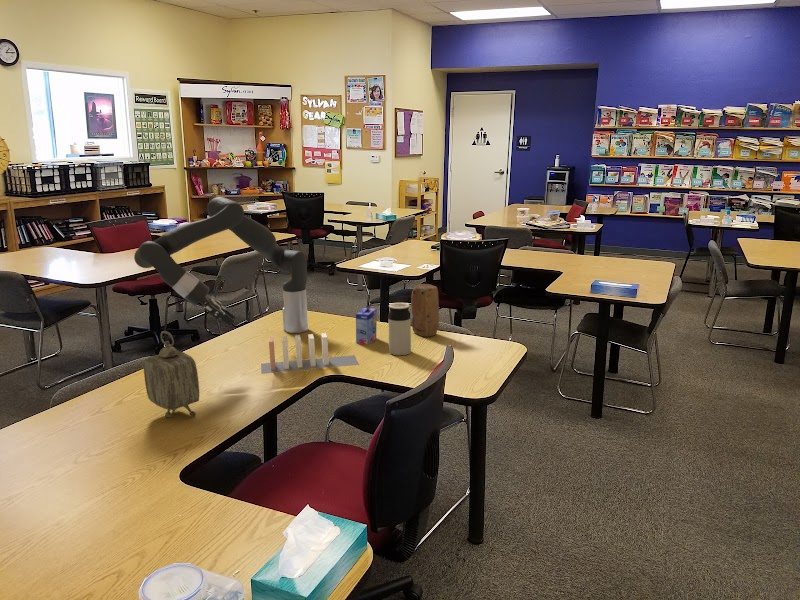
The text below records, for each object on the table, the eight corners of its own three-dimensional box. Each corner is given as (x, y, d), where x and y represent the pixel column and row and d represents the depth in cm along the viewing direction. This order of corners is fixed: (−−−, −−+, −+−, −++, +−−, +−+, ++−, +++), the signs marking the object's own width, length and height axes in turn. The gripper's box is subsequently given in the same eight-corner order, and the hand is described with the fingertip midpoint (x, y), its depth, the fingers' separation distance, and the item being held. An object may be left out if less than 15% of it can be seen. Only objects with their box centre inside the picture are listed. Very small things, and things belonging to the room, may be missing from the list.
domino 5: (324, 365, 215) (322, 337, 213) (322, 360, 220) (321, 333, 217) (328, 364, 215) (327, 337, 213) (327, 359, 220) (325, 332, 218)
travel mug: (407, 357, 223) (406, 308, 219) (386, 355, 226) (384, 307, 221) (413, 350, 230) (413, 303, 226) (393, 348, 233) (392, 301, 228)
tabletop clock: (202, 416, 177) (193, 332, 171) (172, 427, 171) (162, 340, 165) (176, 403, 187) (167, 323, 181) (147, 413, 180) (136, 330, 174)
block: (440, 335, 247) (440, 286, 242) (426, 339, 243) (425, 289, 238) (423, 329, 256) (422, 281, 251) (408, 332, 251) (408, 284, 246)
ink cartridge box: (369, 345, 236) (368, 308, 233) (355, 344, 238) (354, 308, 234) (377, 338, 245) (376, 302, 242) (364, 337, 247) (363, 301, 243)
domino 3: (297, 367, 213) (296, 339, 211) (296, 362, 218) (295, 335, 215) (302, 367, 213) (300, 339, 211) (301, 362, 218) (299, 335, 216)
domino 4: (310, 366, 214) (309, 338, 212) (309, 361, 219) (308, 334, 216) (315, 365, 214) (314, 338, 212) (314, 361, 219) (312, 334, 217)
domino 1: (271, 370, 211) (268, 342, 209) (270, 365, 216) (268, 337, 213) (275, 369, 212) (273, 341, 209) (275, 364, 216) (273, 337, 214)
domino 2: (284, 368, 212) (282, 340, 210) (283, 364, 217) (281, 336, 214) (289, 368, 212) (287, 340, 210) (288, 363, 217) (286, 336, 215)
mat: (261, 375, 208) (261, 373, 208) (261, 365, 218) (260, 363, 218) (359, 365, 215) (359, 364, 215) (354, 356, 225) (354, 355, 225)
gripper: (196, 284, 194) (239, 318, 200) (200, 275, 208) (240, 307, 213) (180, 302, 194) (224, 335, 200) (185, 291, 208) (225, 323, 214)
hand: (232, 320), depth 207 cm, fingers open, 5 cm apart
